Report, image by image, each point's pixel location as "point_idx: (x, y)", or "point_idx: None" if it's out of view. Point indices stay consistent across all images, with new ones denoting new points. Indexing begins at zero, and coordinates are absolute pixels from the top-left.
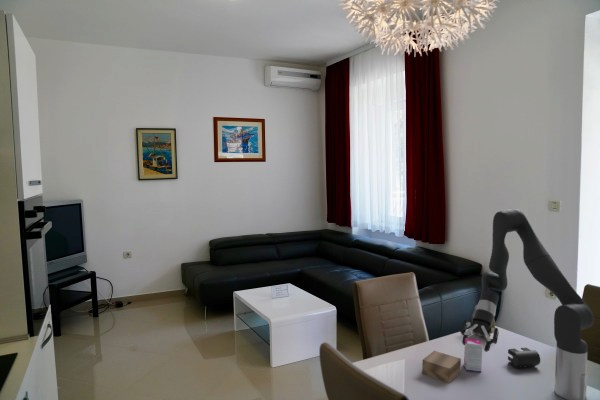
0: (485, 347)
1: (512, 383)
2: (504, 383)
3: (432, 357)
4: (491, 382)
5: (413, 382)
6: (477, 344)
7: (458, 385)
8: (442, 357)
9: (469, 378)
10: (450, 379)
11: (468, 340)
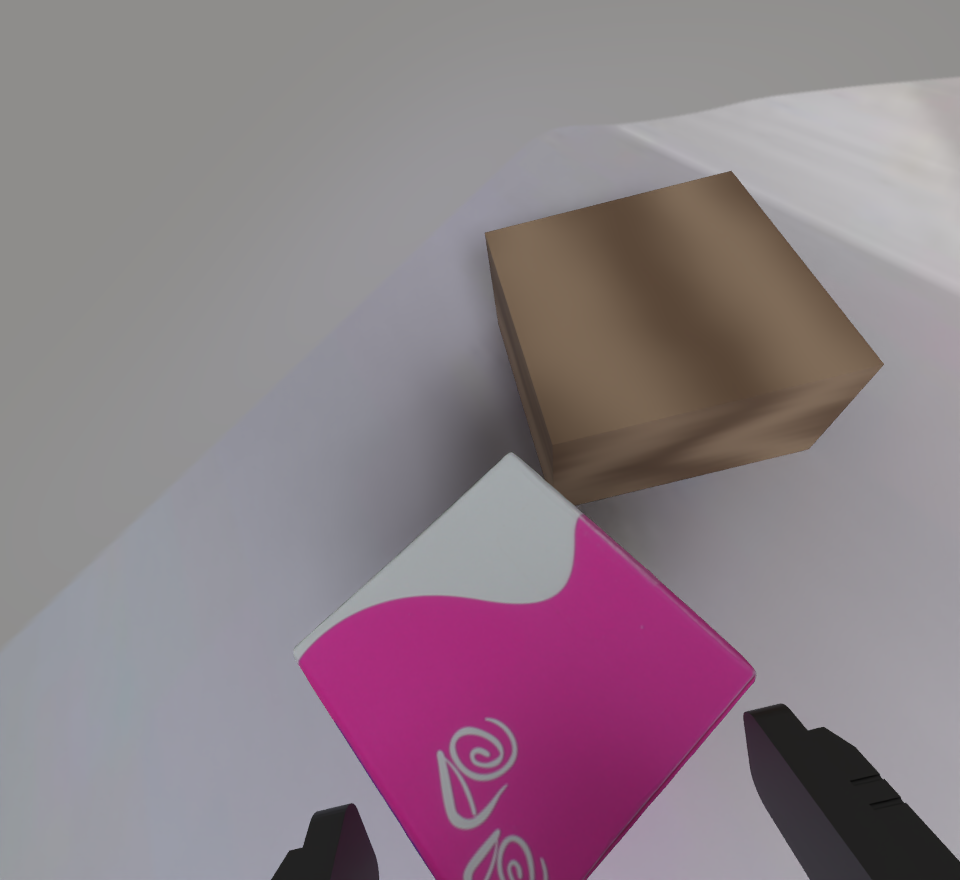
0: (325, 843)
1: (131, 731)
2: (193, 662)
3: (729, 248)
4: (287, 578)
5: (633, 181)
6: (372, 578)
7: (442, 346)
8: (681, 316)
9: (445, 485)
10: (499, 318)
11: (609, 601)
